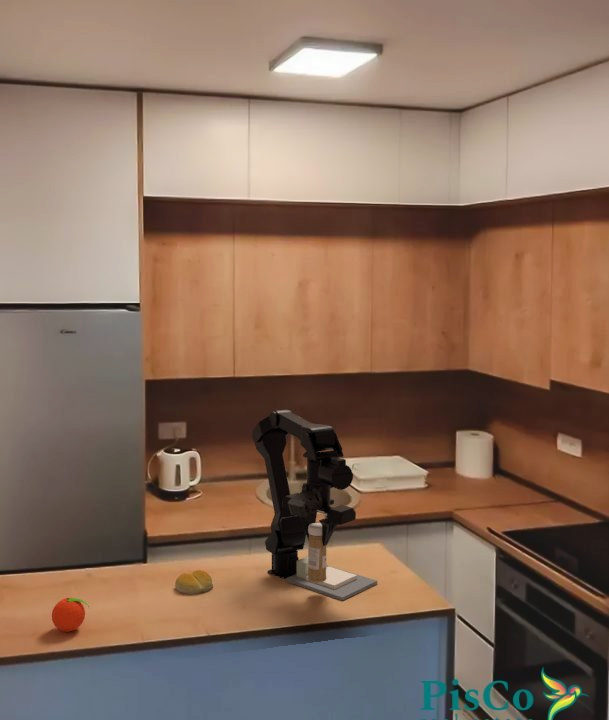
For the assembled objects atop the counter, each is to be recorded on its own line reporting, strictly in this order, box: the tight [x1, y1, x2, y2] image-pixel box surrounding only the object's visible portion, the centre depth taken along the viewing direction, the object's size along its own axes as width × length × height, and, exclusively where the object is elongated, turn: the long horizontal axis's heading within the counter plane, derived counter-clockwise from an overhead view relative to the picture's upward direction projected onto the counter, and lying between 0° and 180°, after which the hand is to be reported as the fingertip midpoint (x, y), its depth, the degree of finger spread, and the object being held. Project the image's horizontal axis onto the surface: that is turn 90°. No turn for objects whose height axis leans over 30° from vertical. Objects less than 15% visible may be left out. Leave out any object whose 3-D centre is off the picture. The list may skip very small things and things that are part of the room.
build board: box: [285, 555, 378, 601], centre depth 201 cm, size 18×14×5 cm
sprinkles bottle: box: [307, 522, 327, 583], centre depth 192 cm, size 5×5×13 cm
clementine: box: [51, 597, 90, 633], centre depth 173 cm, size 8×7×7 cm
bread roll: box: [174, 570, 214, 595], centre depth 197 cm, size 8×9×4 cm
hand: (317, 543), depth 192 cm, fingers closed on sprinkles bottle, 4 cm apart
